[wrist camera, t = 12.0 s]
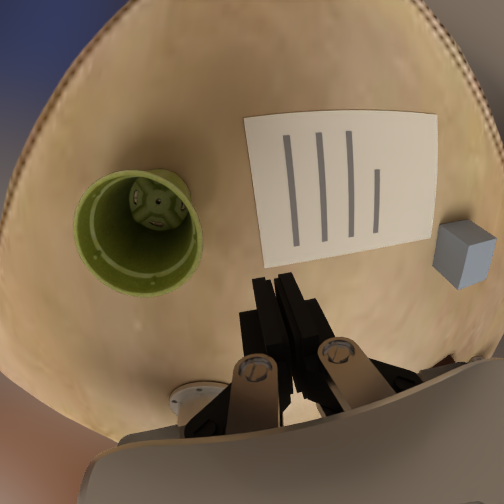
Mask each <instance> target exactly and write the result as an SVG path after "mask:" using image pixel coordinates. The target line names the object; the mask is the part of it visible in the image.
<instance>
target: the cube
mask: <svg viewBox="0 0 504 504" xmlns="http://www.w3.org/2000/svg"><path fill="white" fill-rule="evenodd" d="M496 240H497V238H496V237H494V236H493V235H491V234H490V233H488V232H487V231H485V230H484V229H482V228H481V227H479V226H478V225H476V224H475V223H473V222H472V221H470V220H463V221H457V222H452V223H446V224H441V225H439V230H438V237H437V243H436V249H435V255H434V260H433V265H432V266H433V267H434V268H435V269H436V270H437V271H438V272H439V273H441V274H442V275H443V276H444V277H445V278H446V279H447V280H448V281H449V282H450V283H451V284H452V285H453V286H454V287H455V288H456V289H457V290H459V289H462V288H465V287H467V286H470V285H473V284H475V283H478V282H480V281H483V280H485V279H486V277H487V274H488V271H489V267H490V264H491V260H492V256H493V252H494V248H495V244H496Z"/></svg>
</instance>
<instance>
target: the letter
mask: <svg viewBox="0 0 504 504" xmlns="http://www.w3.org/2000/svg"><path fill="white" fill-rule="evenodd" d="M243 119H244V126H245V132H246V139H247V146H248V153H249V160H250V167H251V174H252V181H253V188H254V195H255V202H256V210H257V217H258V224H259V231H260V239H261V246H262V254H263V261H264V268H271V267H276V266H282V265H288V264H294V263H300V262H305V261H311V260H317V259H322V258H328V257H333V256H339V255H344V254H350V253H355V252H361V251H366V250H371V249H377V248H382V247H387V246H392V245H397V244H403V243H408V242H413V241H418V240H423V239H428V238H431V232H432V224H433V216H434V207H435V197H436V183H437V162H438V125H437V115H435V114H426V113H414V112H400V111H377V110H334V111H311V112H296V113H284V114H273V115H264V116H256V117H248V118H243Z"/></svg>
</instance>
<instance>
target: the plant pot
mask: <svg viewBox="0 0 504 504" xmlns="http://www.w3.org/2000/svg"><path fill="white" fill-rule="evenodd" d="M135 191H138V195H137V204H135V203H134V193H135ZM157 199H160V200H161V203H160V204H157V203H156V200H157ZM182 201H183V203H184V204H185V209H184V210H183V211H181V207H182ZM150 221H154V222H157V223H163V224H164V225H163V226H155V225H152V224H151V223H150ZM73 228H74V239H75V243H76V246H77V250H78V253H79V255H80V257H81V259H82V261H83V262H84V264H85V265H86V267H87V268H88V269H89V271H90V272H91V273H92V274H93V275H94V276H95V277H96V278H97V279H98V280H99V281H100V282H102V283H103V284H104V285H106V286H108V287H109V288H111V289H113V290H115V291H117V292H120V293H122V294H126V295H130V296H135V297H155V296H160V295H164V294H167V293H169V292H172V291H174V290H176V289H178V288H179V287H181V286H182V285H183V284H185V283H186V282H187V281H188V280H189V279H190V278H191V276H192V275H193V274H194V272H195V271H196V269H197V267H198V265H199V262H200V259H201V256H202V250H203V232H202V227H201V223H200V220H199V217H198V214H197V212H196V210H195V208H194V206H193V205H192V203H191V195H190V191H189V189H188V187H187V185H186V184H185V182H184V181H183V180H182V179H181V178H180V177H179V176H178V175H177V174H175V173H173V172H171V171H168V170H164V169H153V170H149V171H143V170H123V171H118V172H114V173H111V174H109V175H106V176H104V177H102V178H100V179H99V180H97V181H96V182H95V183H93V184H92V185H91V186H90V187H89V188H88V189H87V190H86V191H85V193H84V194H83V196H82V197H81V199H80V201H79V203H78V205H77V208H76V211H75V215H74V223H73Z"/></svg>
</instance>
